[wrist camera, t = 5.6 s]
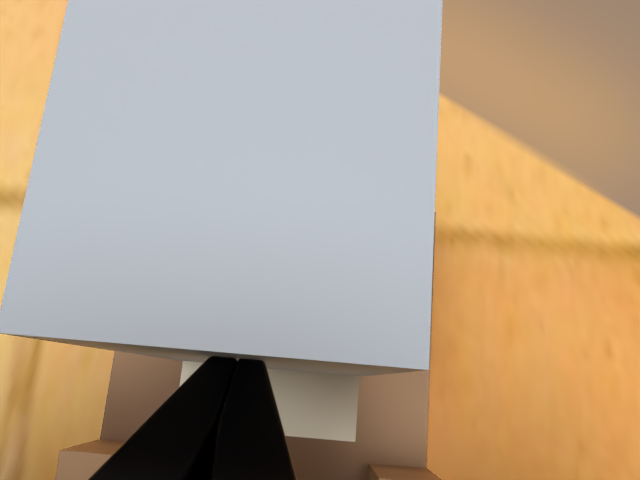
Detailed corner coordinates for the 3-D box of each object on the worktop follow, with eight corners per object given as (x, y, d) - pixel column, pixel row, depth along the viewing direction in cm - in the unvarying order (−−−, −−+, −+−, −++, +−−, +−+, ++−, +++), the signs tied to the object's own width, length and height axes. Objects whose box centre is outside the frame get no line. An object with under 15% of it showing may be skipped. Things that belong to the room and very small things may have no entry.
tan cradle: (407, 815, 14) (434, 943, 11) (54, 782, 14) (-22, 898, 11) (430, 219, 17) (455, 184, 14) (149, 196, 17) (114, 156, 14)
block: (363, 376, 15) (428, 369, 6) (177, 360, 15) (-6, 332, 7) (375, 199, 16) (442, -8, 8) (203, 184, 16) (76, -37, 8)
